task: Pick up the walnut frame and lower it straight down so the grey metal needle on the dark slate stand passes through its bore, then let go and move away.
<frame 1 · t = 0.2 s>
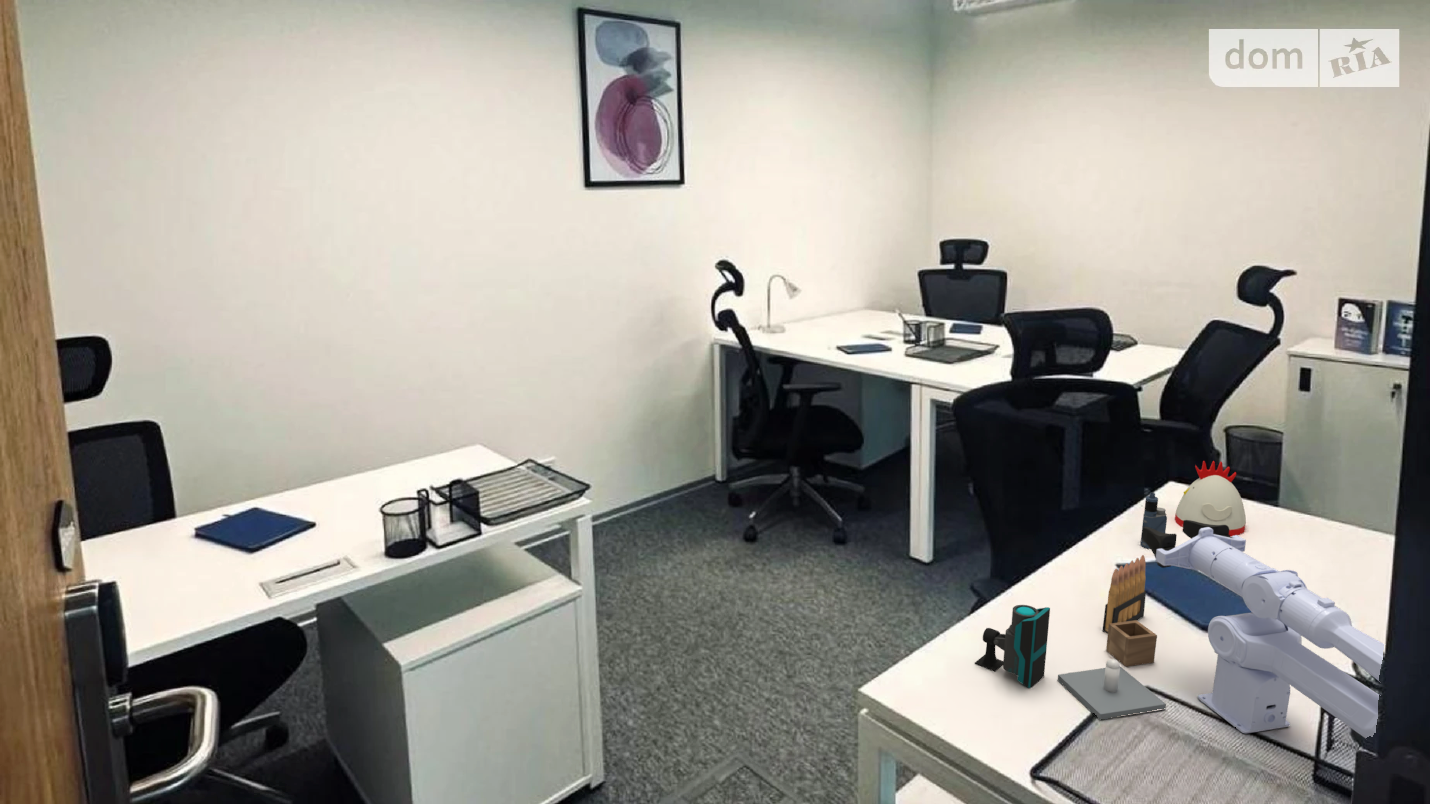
hand: (1164, 529, 148), 21 cm above the table, tool horizontal, fingers open, 7 cm apart
vaping device: (1151, 546, 193), on the table
walnut frame: (1129, 656, 150), on the table
surveillance camera: (1008, 671, 147), on the table
kitchen timer: (1209, 525, 203), on the table
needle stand: (1109, 694, 140), on the table
ammunition clip: (1123, 624, 161), on the table
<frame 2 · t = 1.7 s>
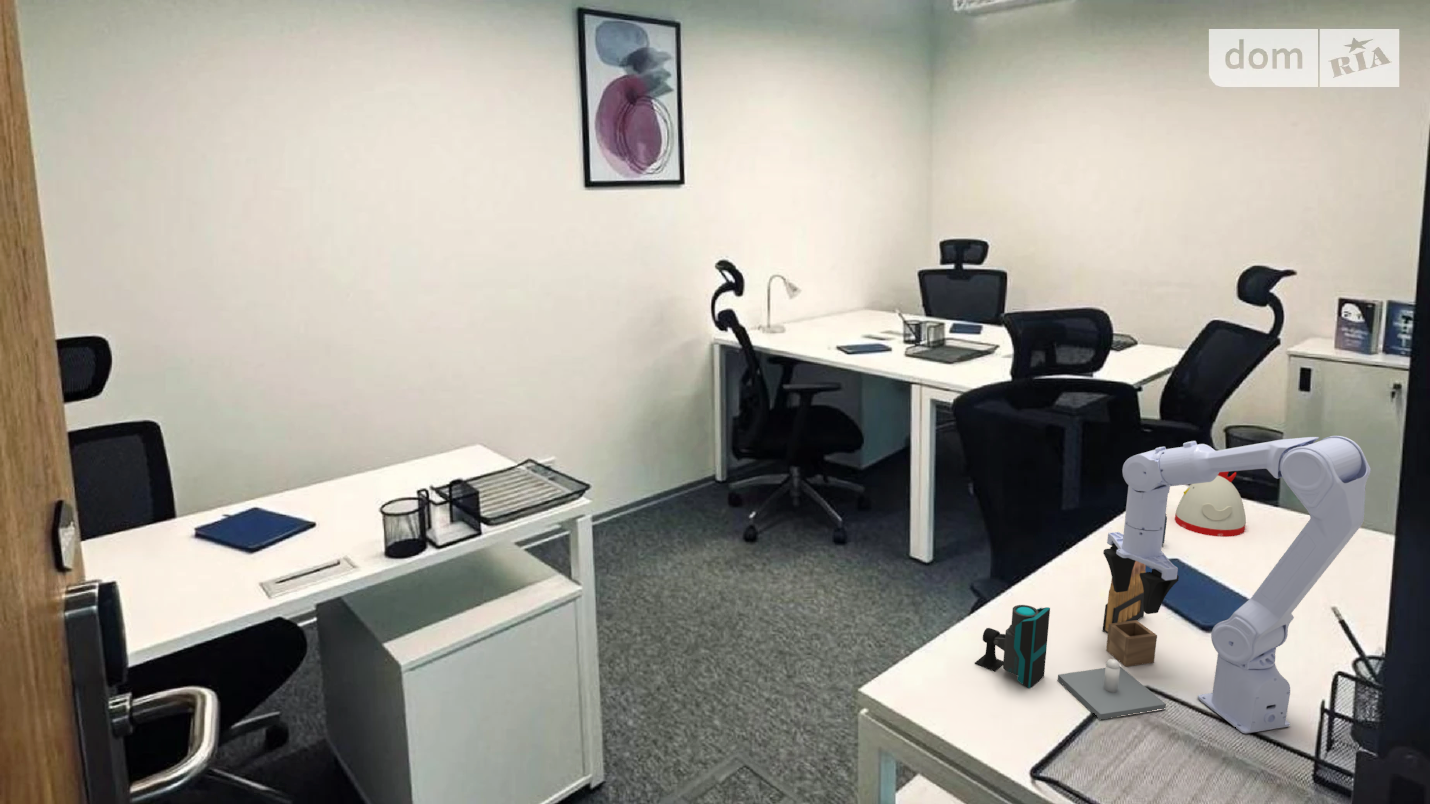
hand: (1135, 601, 147), 10 cm above the table, tool pointing down, fingers open, 7 cm apart
nothing on the table moved.
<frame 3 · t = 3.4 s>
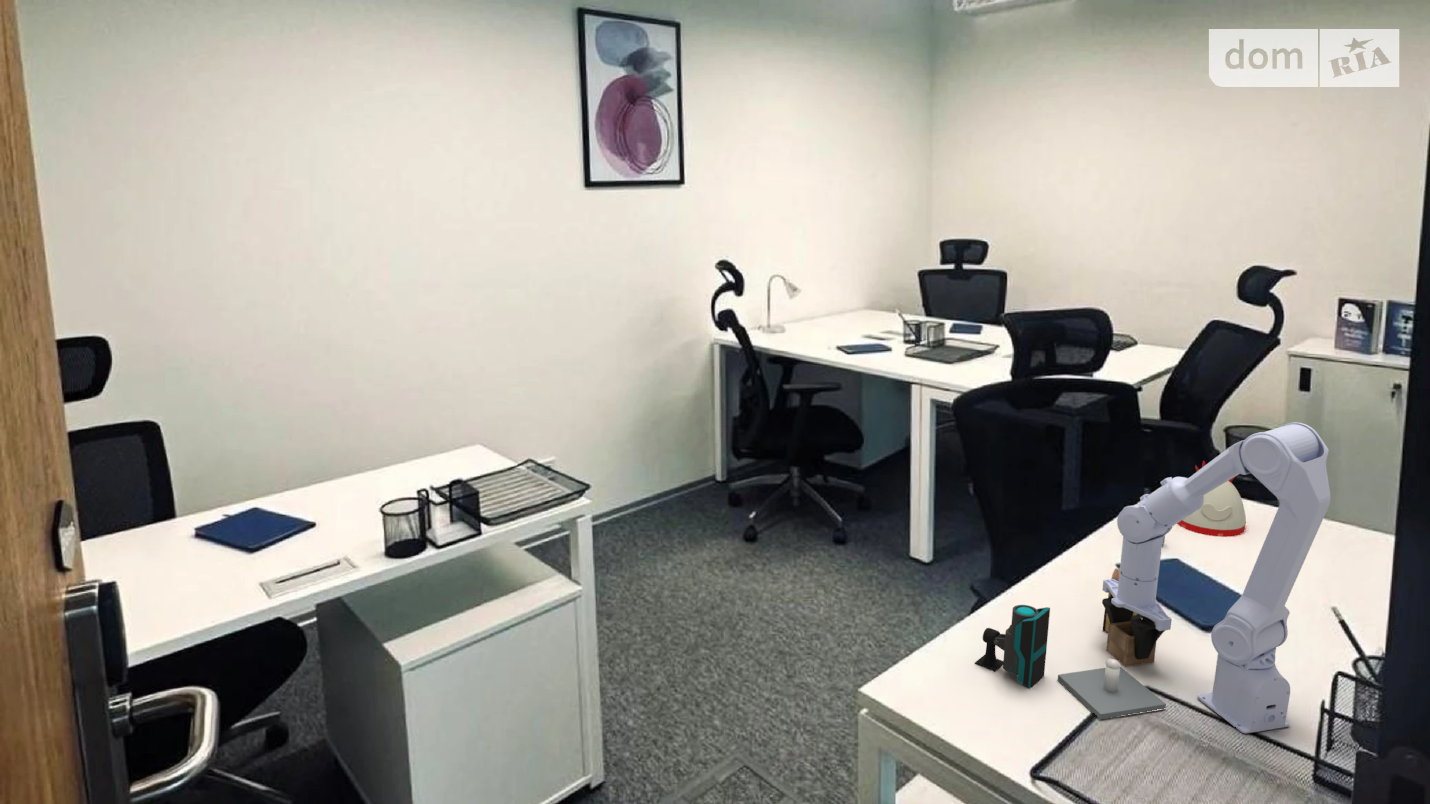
hand: (1130, 648, 150), 1 cm above the table, tool pointing down, fingers closed on walnut frame, 5 cm apart
walnut frame: (1129, 656, 150), on the table, touching gripper
everything else where it was.
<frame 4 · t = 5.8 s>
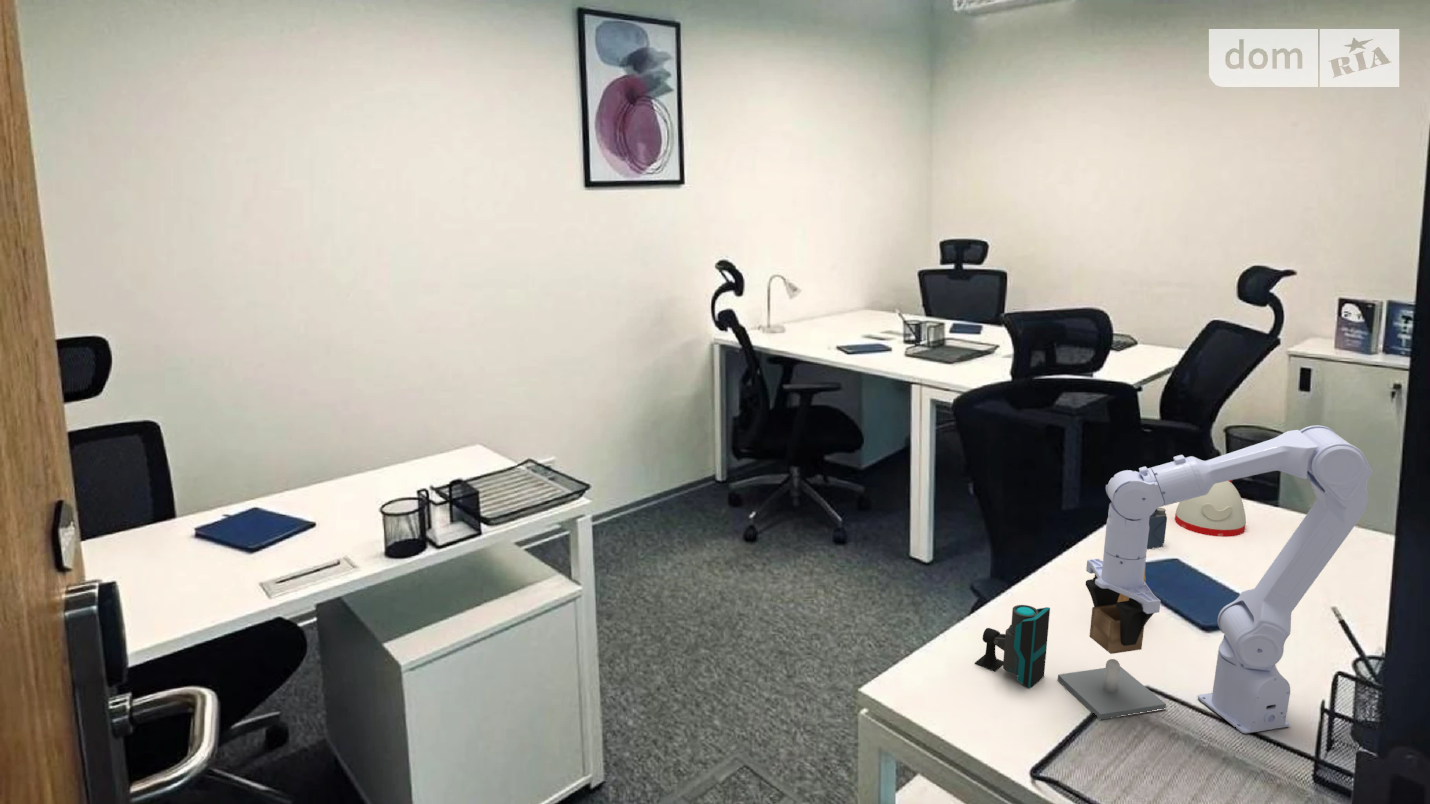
hand: (1116, 634, 137), 10 cm above the table, tool pointing down, fingers closed on walnut frame, 5 cm apart
walnut frame: (1115, 643, 137), point 9 cm above the table, touching gripper
everything else where it was.
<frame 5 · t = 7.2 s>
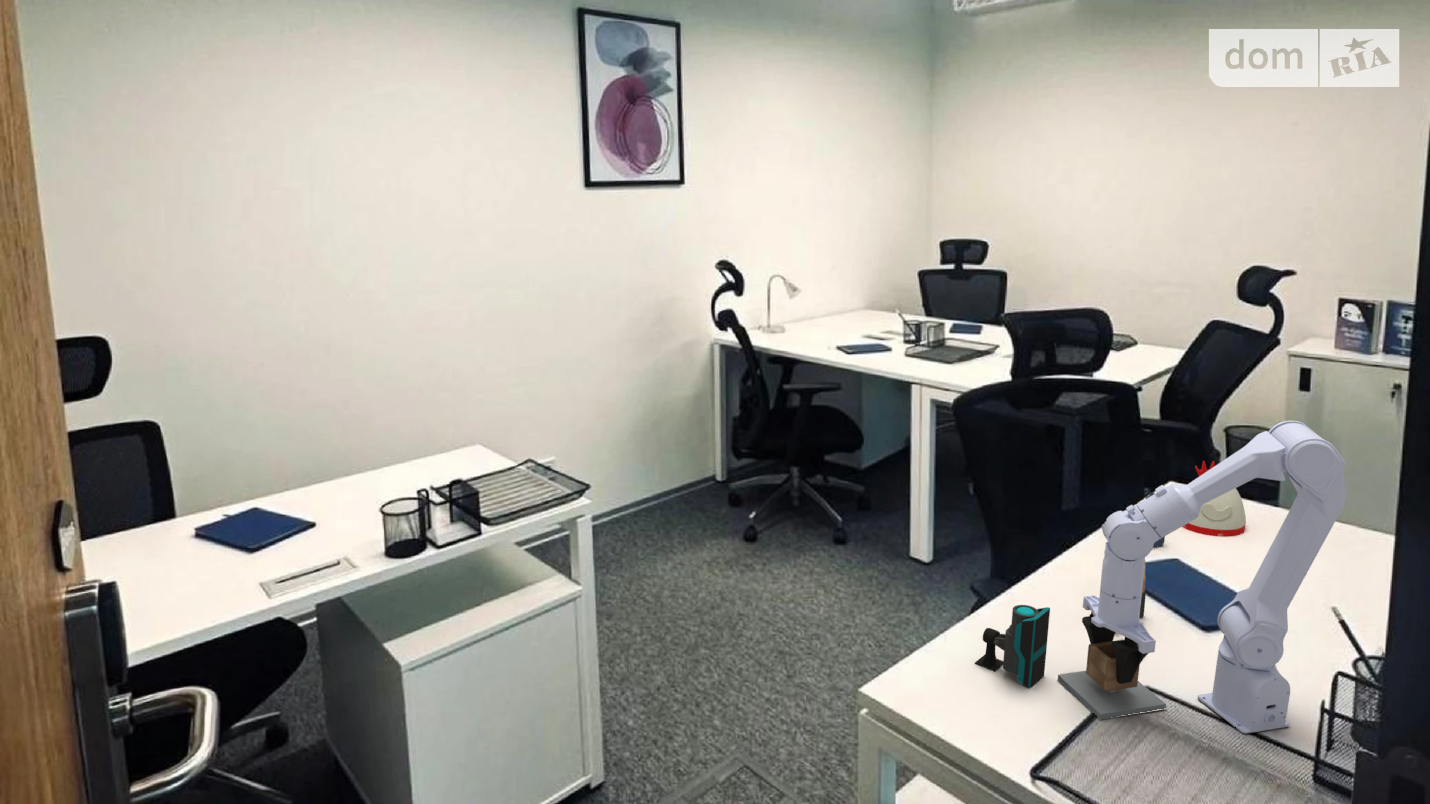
hand: (1112, 671, 139), 4 cm above the table, tool pointing down, fingers closed on walnut frame, 5 cm apart
walnut frame: (1111, 679, 139), point 3 cm above the table, touching gripper
everything else where it was.
when the fingers open (4 cm above the table, at t = 8.2 s): walnut frame drops 1 cm, resting on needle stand.
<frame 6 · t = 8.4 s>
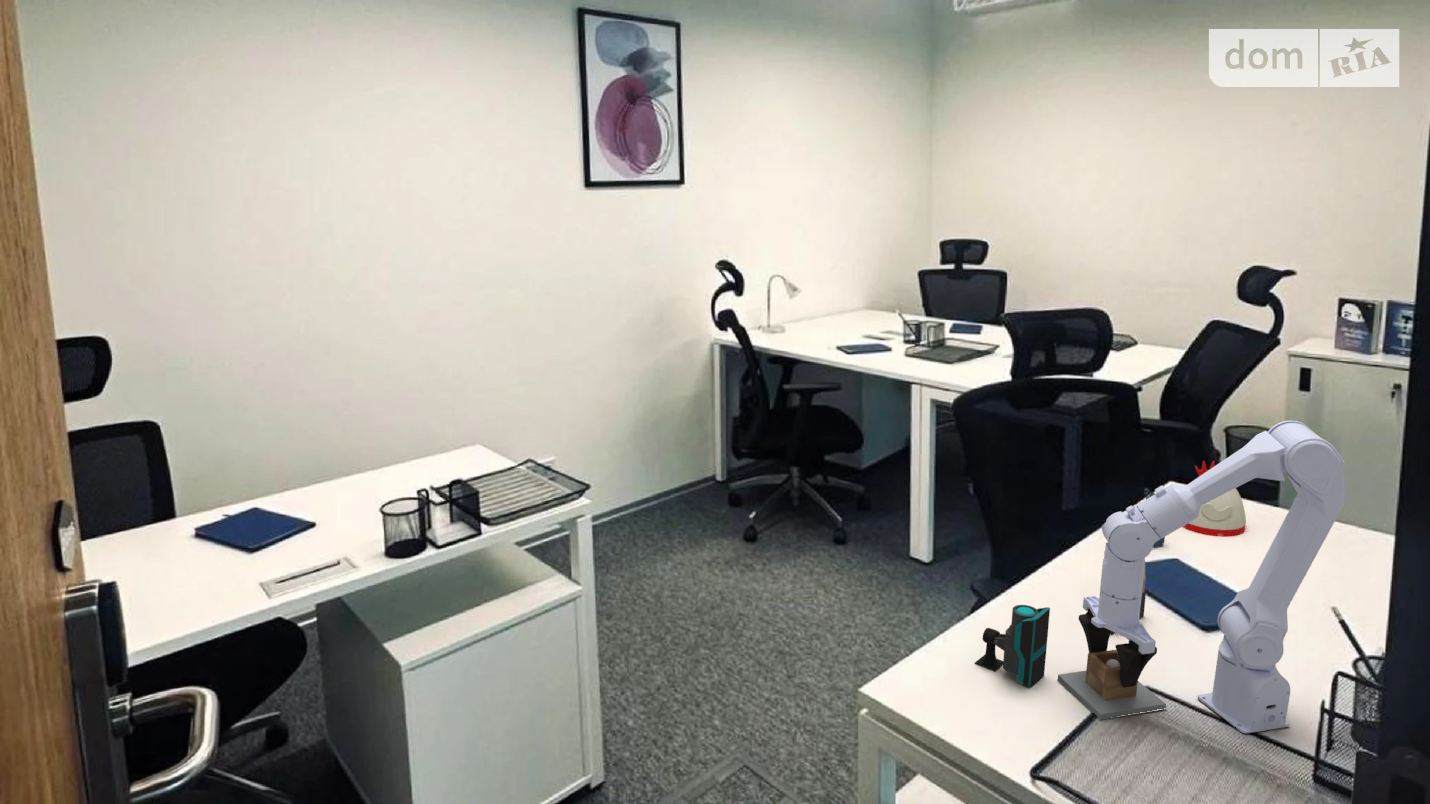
hand: (1112, 672, 139), 4 cm above the table, tool pointing down, fingers open, 7 cm apart
walnut frame: (1110, 688, 139), point 1 cm above the table, touching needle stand
everything else where it was.
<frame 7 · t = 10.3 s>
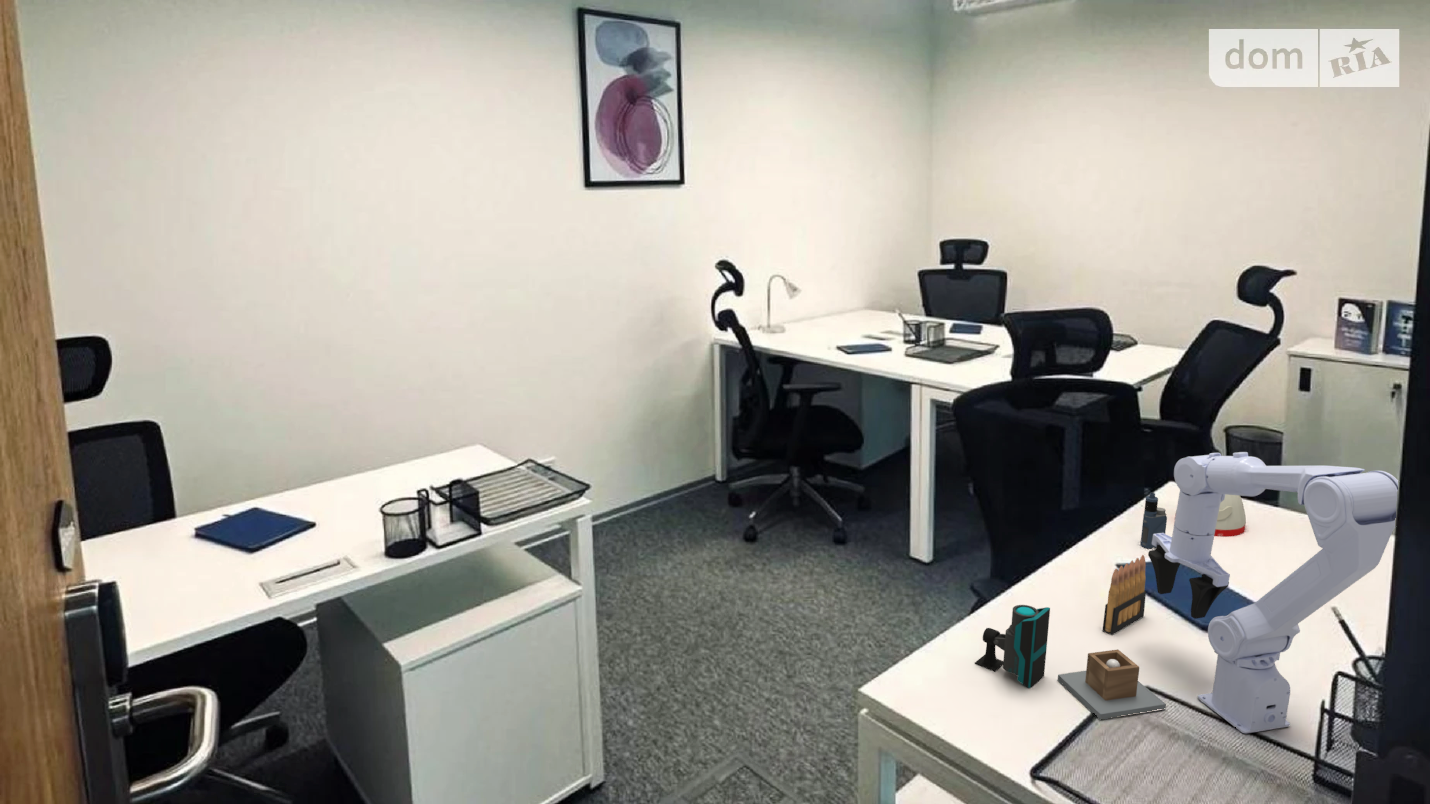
hand: (1180, 604, 145), 10 cm above the table, tool pointing down, fingers open, 7 cm apart
nothing on the table moved.
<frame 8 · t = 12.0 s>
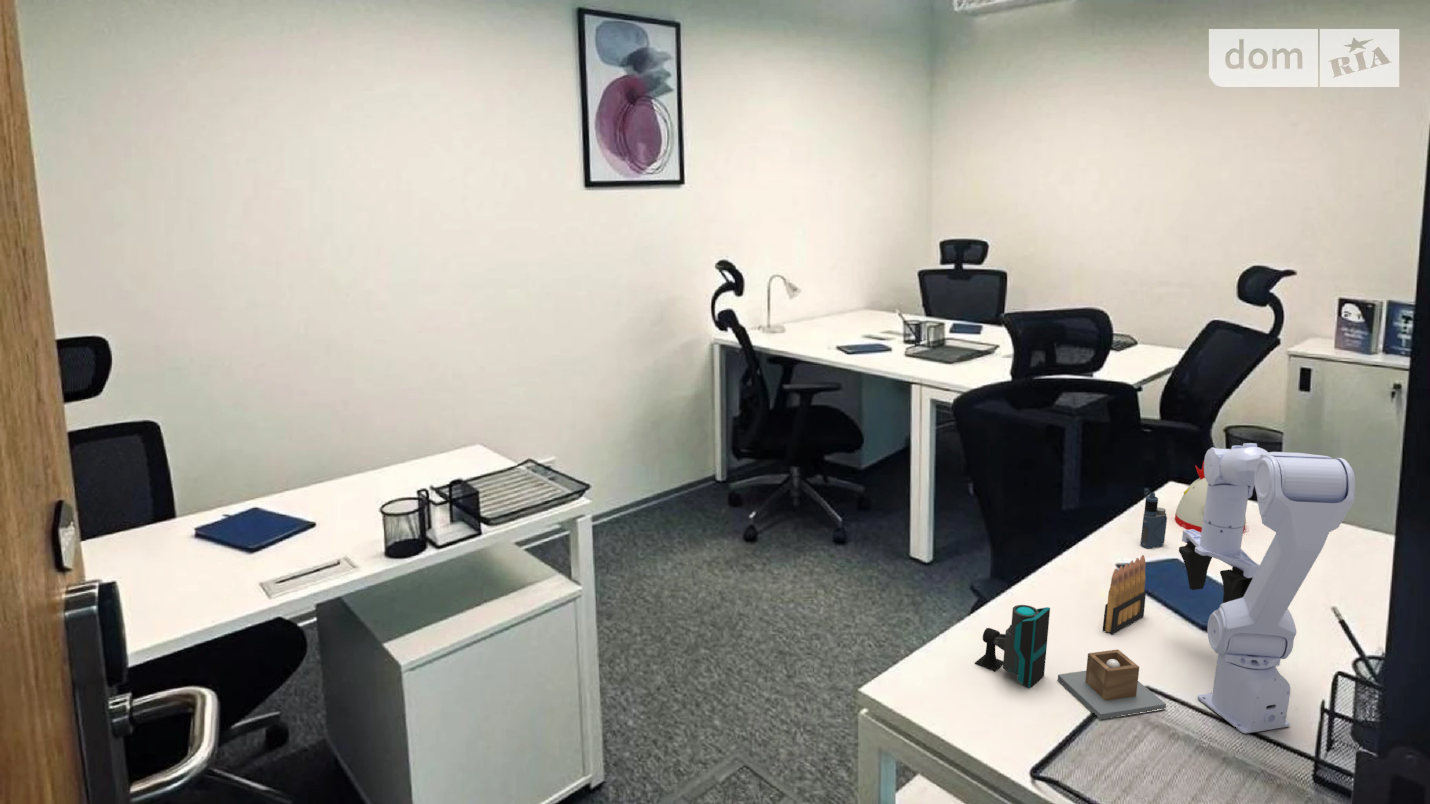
hand: (1212, 599, 147), 10 cm above the table, tool pointing down, fingers open, 7 cm apart
nothing on the table moved.
at the end: walnut frame 0.1 cm from the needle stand (horizontally); walnut frame point 1.0 cm above the table; walnut frame tilted 0° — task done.
